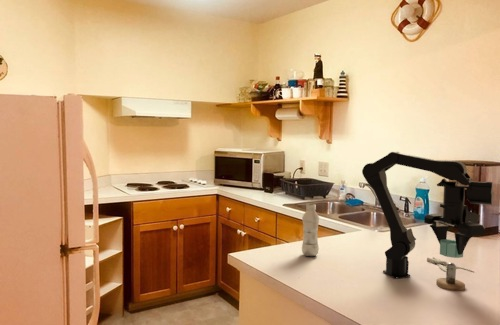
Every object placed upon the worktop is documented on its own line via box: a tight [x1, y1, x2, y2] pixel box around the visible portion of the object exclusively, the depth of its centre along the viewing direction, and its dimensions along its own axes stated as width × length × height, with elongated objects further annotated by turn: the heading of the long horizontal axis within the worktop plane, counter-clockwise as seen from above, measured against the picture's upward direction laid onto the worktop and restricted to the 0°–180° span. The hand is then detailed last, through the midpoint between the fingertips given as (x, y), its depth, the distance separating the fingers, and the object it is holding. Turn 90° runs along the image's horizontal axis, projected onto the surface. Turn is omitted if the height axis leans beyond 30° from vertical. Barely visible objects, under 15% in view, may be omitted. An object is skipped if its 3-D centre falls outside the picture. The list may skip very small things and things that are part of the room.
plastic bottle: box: [301, 203, 320, 257], centre depth 152 cm, size 6×7×20 cm
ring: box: [439, 238, 464, 259], centre depth 122 cm, size 6×6×4 cm
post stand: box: [435, 262, 466, 292], centre depth 123 cm, size 8×8×7 cm
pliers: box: [426, 256, 475, 273], centre depth 141 cm, size 10×2×15 cm
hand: (451, 251), depth 122 cm, fingers closed on ring, 6 cm apart
